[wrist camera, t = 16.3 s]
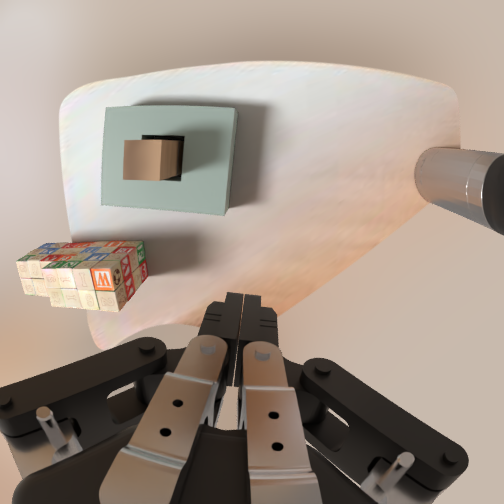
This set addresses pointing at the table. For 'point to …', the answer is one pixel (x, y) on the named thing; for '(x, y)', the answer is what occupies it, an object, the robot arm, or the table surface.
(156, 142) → the walnut peg
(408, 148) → the table surface
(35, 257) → the stack of blocks
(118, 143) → the socket board
